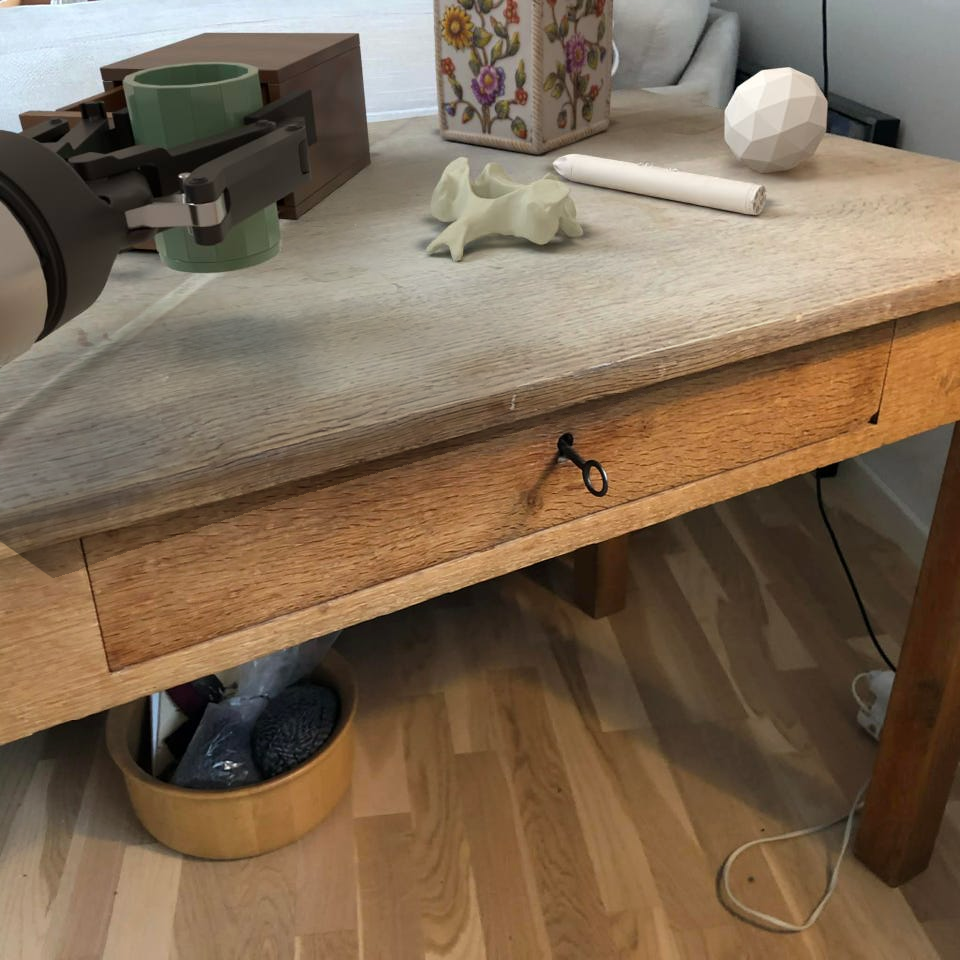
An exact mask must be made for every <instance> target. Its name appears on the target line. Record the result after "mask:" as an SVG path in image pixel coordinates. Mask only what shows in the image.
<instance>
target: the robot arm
mask: <svg viewBox="0 0 960 960" xmlns="http://www.w3.org/2000/svg"><path fill="white" fill-rule="evenodd" d="M79 107H80V111H81V115H82V121H81V122H80V123H79V124H77V125H76V126H75V127H74V128H73V129H70V127H69V122H68V120H67V119H60V118H59V117H55V118H50V119H49V120H48V121H45V122H42V123H40V124H38V125H35V126H33V127H31V128H29V129H26V130H24V131H23V130H22V131H20V132H15V131H10V130H5V129H0V369H1V368H3V367H5V366H6V365H7V364H10V363H11V362H12V361H14V360H16V359H17V358H19V357H21V356H22V355H23V354H25V353H26V352H28V351H30V350H31V348H32V347H33V345H34V344H37V343H39V342H40V341H42V340H44V339H45V338H47V337H49V336H50V335H51V334H52V333H54V332H55V331H57V330H59V329H60V328H61V327H63V326H65V325H66V324H67V323H69V322H70V321H72V320H73V319H75V318H77V317H78V316H80V315H81V314H82V313H84V312H86V311H87V310H88V309H89V308H91V306H92V305H94V303H95V302H97V300H98V299H99V297H100V296H101V294H102V292H103V291H104V290H105V287H106V284H107V282H108V280H109V277H110V275H111V271H112V268H113V267H114V263H115V261H116V259H117V257H118V255H120V254H123V253H126V252H129V251H130V250H132V249H134V248H133V247H134V246H135V245H139V244H142V243H145V242H147V241H149V240H151V239H152V238H153V237H154V236H155V235H156V234H158V233H160V232H163V231H166V230H168V229H171V228H174V227H182V226H187V229H188V233H189V234H191V235H193V236H194V241H195V243H196V244H198V245H201V246H213V245H215V244H218V243H221V242H223V241H224V240H225V238H226V237H227V235H228V234H229V232H230V231H231V229H232V227H233V226H235V225H237V224H239V223H240V222H242V221H244V220H245V219H247V218H249V217H251V216H252V215H254V214H256V213H257V212H259V211H261V210H263V209H264V208H266V207H268V206H269V205H271V204H273V203H275V202H276V201H278V200H280V199H281V198H283V197H285V196H286V195H288V194H290V193H292V192H293V191H295V190H297V189H298V188H300V187H302V186H304V185H305V184H307V183H309V182H310V181H311V180H312V179H311V170H310V161H309V153H308V147H310V146H311V145H313V144H314V143H316V142H317V136H316V128H315V119H314V110H313V101H312V92H311V89H297V90H295V91H293V92H291V93H290V94H288V95H286V96H284V97H282V98H280V99H278V100H276V101H274V102H272V103H270V104H268V105H266V106H264V107H262V108H261V109H259V110H257V111H255V112H253V113H251V114H249V115H247V116H245V117H243V118H244V124H245V126H242V127H239V128H236V129H232V130H229V131H226V132H222V133H219V134H216V135H212V136H209V137H205V138H202V139H199V140H195V141H192V142H189V143H185V144H182V145H179V146H175V147H172V148H169V149H164V148H162V147H156V146H150V145H144V144H141V145H135V140H134V135H133V131H132V126H131V121H130V116H129V111H128V107H126V108H123V109H121V110H119V111H116V112H114V113H112V117H113V119H111V120H109V121H108V118H107V113H106V108H105V104H104V102H103V101H88V102H83V103H80V104H79ZM138 168H139V169H138Z"/></svg>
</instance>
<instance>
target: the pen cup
mask: <svg viewBox="0 0 960 960" xmlns="http://www.w3.org/2000/svg"><path fill="white" fill-rule="evenodd" d="M123 87H124V92H125V97H126V101H127V106H128V111H129V116H130V121H131V126H132V131H133V135H134V140H135V145H141V144H144V145H150V146H156V147H162V148H164V149H169V148H172V147H175V146H179V145H182V144H185V143H189V142H192V141H195V140H199V139H202V138H205V137H209V136H212V135H216V134H219V133H222V132H226V131H229V130H232V129H236V128H239V127H242V126H245V124H244V118H243V117H245V116H247V115H249V114H251V113H253V112H255V111H257V110H259V109H261V108H262V107H263V101H262V93H261V86H260V79H259V72H258V68H257V67H255V66H251V65H248V64H244V63H232V62H197V63H185V64H176V65H167V66H161V67H156V68H150V69H145V70H141V71H138V72H135V73H133V74H130V75H127V76H126V77H125V78H124V80H123ZM278 213H279V210H277V202H275V203H273V204H271V205H269V206H268V207H266V208H264V209H263V210H261V211H259V212H257V213H256V214H254V215H252V216H251V217H249V218H247V219H245V220H244V221H242V222H240V223H239V224H237V225H235V226H233V227H232V229H231V231H230V232H229V234H228V235H227V237H226V238H225V240H224V241H223V242H221V243H218V244H215V245H213V246H201V245H198V244H196V243H195V241H194V236H193V235H191V234H189V233H188V229H187V226H182V227H174V228H171V229H168V230H166V231H163V232H160V233H158V234H156V235H155V236H154V238H155V242H156V247H157V250H156V251H157V252H158V256H159V260H160V262H161V263H162V265H164V266H165V267H166V268H169V269H171V270H173V271H177V272H182V273H191V274H218V273H219V274H220V273H227V272H235V271H240V270H244V269H248V268H252V267H256V266H258V265H261V264H264V263H266V262H268V261H270V260H272V259H275V257H277V256H278V255H279V254H280V253H281V251H282V250H283V249H282V248H283V241H282V233H281V226H280V218H279V217H278Z"/></svg>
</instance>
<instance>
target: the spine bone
mask: <svg viewBox="0 0 960 960" xmlns="http://www.w3.org/2000/svg"><path fill="white" fill-rule="evenodd" d="M571 191H572V190H571V186H569V185H568V184H567V183H565V182H562V181H560V180H559V178H558V176H556V174H552V173H551V172H547V173H546V174H545V175H544V176H543V177H542V178H539V179H536V180H533V181H532V182H531V183H529V184H525V183H520V182H515V181H512V180H511V179H510V178H509V177H508V174H507V172H506V170H505V169H504V167H503V165H501V164H500V163H499V162H496V161H489V162H488V163H487V164H486V165H485V166H484V169H483V170H482V171H481V172H480V174H479V175H478V176H477V177H476V179H475V180H474V181H472V180H471V165H470V160H469V158H468V157H466V156H464V157H463V156H460V157H459V158H456V159H453V160H452V161H451V162H450V163H449V164H448V165H447V166H446V167H445V169H444V171H443V172H442V174H441V177H440V179H439V181H438V183H437V185H436V186H435V188H434V190H433V192H432V197H431V201H430V203H429V213H430V215H431V216H432V217H433V218H436V219H437V220H439V221H440V222H445V223H447V222H448V223H450V222H451V224H449V225H447V227H446V228H445V229H444V230H443V231H442V232H441V233H440V234H439V235H438V236H436V238H434V239H433V240H431V242H430V243H429V244H428V245H427V247H426V253H427V255H429V256H431V255H433V254H434V253H435V252H437V251H438V250H439V249H440V248H442V247H443V246H445V245H447V246H448V247H449V251H450V255H451V258H452V260H453V261H456V262H459V261H460V260H462V258H463V255H464V247H465V246H466V245H467V244H468V243H470V242H472V241H474V240H476V239H478V238H480V237H483V236H487V235H490V234H495V233H498V234H501V235H503V236H509V235H512V236H513V237H515V238H524V239H527V240H529V241H530V242H532V243H534V244H537V245H545V244H547V243H550V241H551V240H552V239H553V238H554V237H555V235H556V233H557V232H558V231H559V229H560V227H561V229H562V231H563V232H564V234H565V235H567V236H568V237H569V238H577V237H581V236H583V235H584V230H583V228H582V227H581V225H580V223H579V222H578V221H577V220H576V218H577V213H578V212H577V208H576V205H575V202H574V200H573V198H572V197H571V196H570V195H571Z"/></svg>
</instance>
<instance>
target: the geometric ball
mask: <svg viewBox="0 0 960 960" xmlns="http://www.w3.org/2000/svg"><path fill="white" fill-rule="evenodd" d="M828 104H829V102H828V100H827V97H825V95H824V93H823V92H822V90H821V89H820V87H819V85H818V83H817V82H816V80H815V78H814V77H813V76H810V75H808V74H806V73H803V72H801V71H799V70H798V69H797V70H796V69H795V68H792V67H790V66H788V67H778V68H770V69H762V70H760V71H758V72H757V73H756V74H754V75H752V76H751V77H750V78H749V79H747V80H745V81H744V82H742V83H741V84H740V85H738V86H737V87H736V89H735V91H734V92H733V94H732V96H731V99H730V100H729V102H728V103H727V106H726V108H725V109H724V141H725V142H726V144H727V146H728V148H729V149H730V150H731V152H732V154H733V155H734V156H735V159H736V160H737V161H738V163H740V164H742V165H744V166H746V167H748V168H750V169H752V170H754V171H756V172H757V173H759V174H769V173H776V172H782V171H788V170H790V169H792V168H794V167H796V166H797V165H799V164H802V162H803V163H804V161H806V160H808V159H810V158H812V157H814V155H815V153H816V151H817V149H818V147H819V146H820V144H821V142H822V139H823V138H824V136H825V134H826V132H827V126H828V125H827V123H828V122H827V121H828V106H829V105H828Z"/></svg>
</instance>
